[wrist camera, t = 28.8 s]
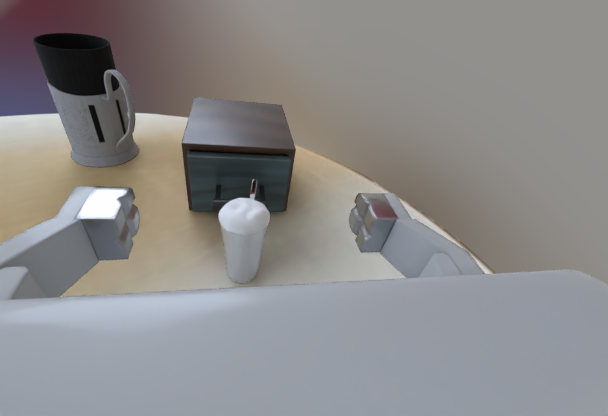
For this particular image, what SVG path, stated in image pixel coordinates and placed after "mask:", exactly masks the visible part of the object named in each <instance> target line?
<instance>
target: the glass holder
mask: <svg viewBox="0 0 608 416" xmlns="http://www.w3.org/2000/svg"><path fill="white" fill-rule="evenodd" d="M33 42H34V45H35V47H36V50H37V53H38V55H39V58H40V60H41V63H42V66H43V68H44V71H45V74H46V76H47V80H48V82H47V84H48V86H49V89H50V92H51V94H52V97H53V100H54V102H55V105H56V107H57V110H58V113H59V115H60V118H61V120H62V123H63V126H64V128H65V131H66V134H67V136H68V139H69V141H70V144H71V147H72V151H71V157H72V159H73V160H74V161H75V162H77V163H79V164H81V165H85V166H90V167H108V166H114V165H119V164H122V163H125V162H127V161H129V160H131V159H133V158H134V157H135V156H136V155H137V154H138V152H139V148H138V145H137V144H136V143H135V142H134V140H133V136H132V133H133V132H134V127H135V109H134V102H133V97H132V94H131V90H130V88H129V86H128V83H127V81H126V80H125V79H124V77H123V76H122V75H121V74H120V73H119V72H118V71H116V68H115V64H114V60H113V55H112V52H111V47H110V43H109V41H107V40H105V39H103V38H100V37H96V36H91V35H84V34H73V33H54V34H44V35H40V36H37V37H35V38H33ZM120 83H121V84H120ZM121 86H122V88H123V90H124V93H125V96H126V100H127V106H128V114H129V118H128V114H127V110H126V105H125V101H124V97H123V92H122V88H121Z"/></svg>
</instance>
